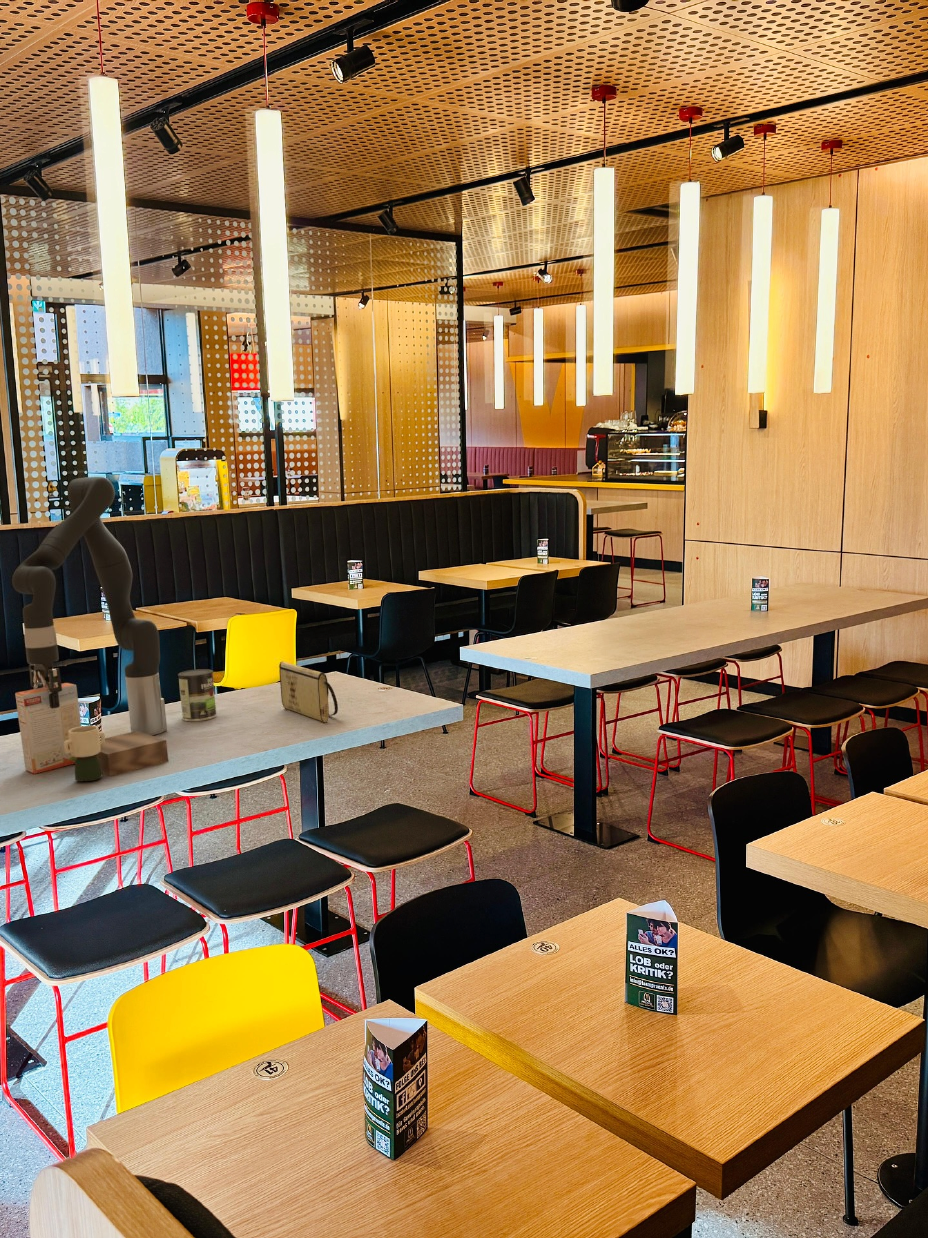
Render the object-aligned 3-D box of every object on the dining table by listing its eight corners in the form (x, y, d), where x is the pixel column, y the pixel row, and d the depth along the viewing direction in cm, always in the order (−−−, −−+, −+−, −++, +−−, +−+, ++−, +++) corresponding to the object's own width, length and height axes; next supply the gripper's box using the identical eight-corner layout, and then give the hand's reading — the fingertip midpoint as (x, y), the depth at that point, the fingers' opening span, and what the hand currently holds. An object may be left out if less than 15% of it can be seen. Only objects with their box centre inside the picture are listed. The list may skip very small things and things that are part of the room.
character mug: (100, 772, 262) (95, 722, 260) (116, 776, 258) (111, 725, 256) (60, 783, 254) (54, 732, 252) (76, 788, 249) (70, 736, 247)
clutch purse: (345, 720, 303) (341, 670, 300) (324, 725, 299) (320, 674, 296) (299, 704, 327) (295, 657, 324) (278, 708, 323) (274, 661, 320)
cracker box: (76, 758, 277) (67, 681, 274) (86, 761, 273) (77, 684, 269) (23, 770, 267) (14, 691, 264) (33, 775, 263) (23, 694, 260)
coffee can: (223, 713, 319) (219, 669, 317) (204, 722, 309) (200, 676, 307) (194, 712, 322) (190, 668, 320) (175, 721, 313) (170, 675, 311)
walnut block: (138, 752, 281) (136, 731, 280) (168, 762, 269) (166, 739, 268) (82, 766, 270) (79, 744, 269) (110, 777, 258) (107, 754, 257)
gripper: (67, 644, 263) (74, 706, 265) (44, 639, 273) (51, 699, 275) (37, 648, 257) (44, 712, 260) (15, 643, 268) (23, 705, 270)
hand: (48, 705), depth 268 cm, fingers open, 8 cm apart
